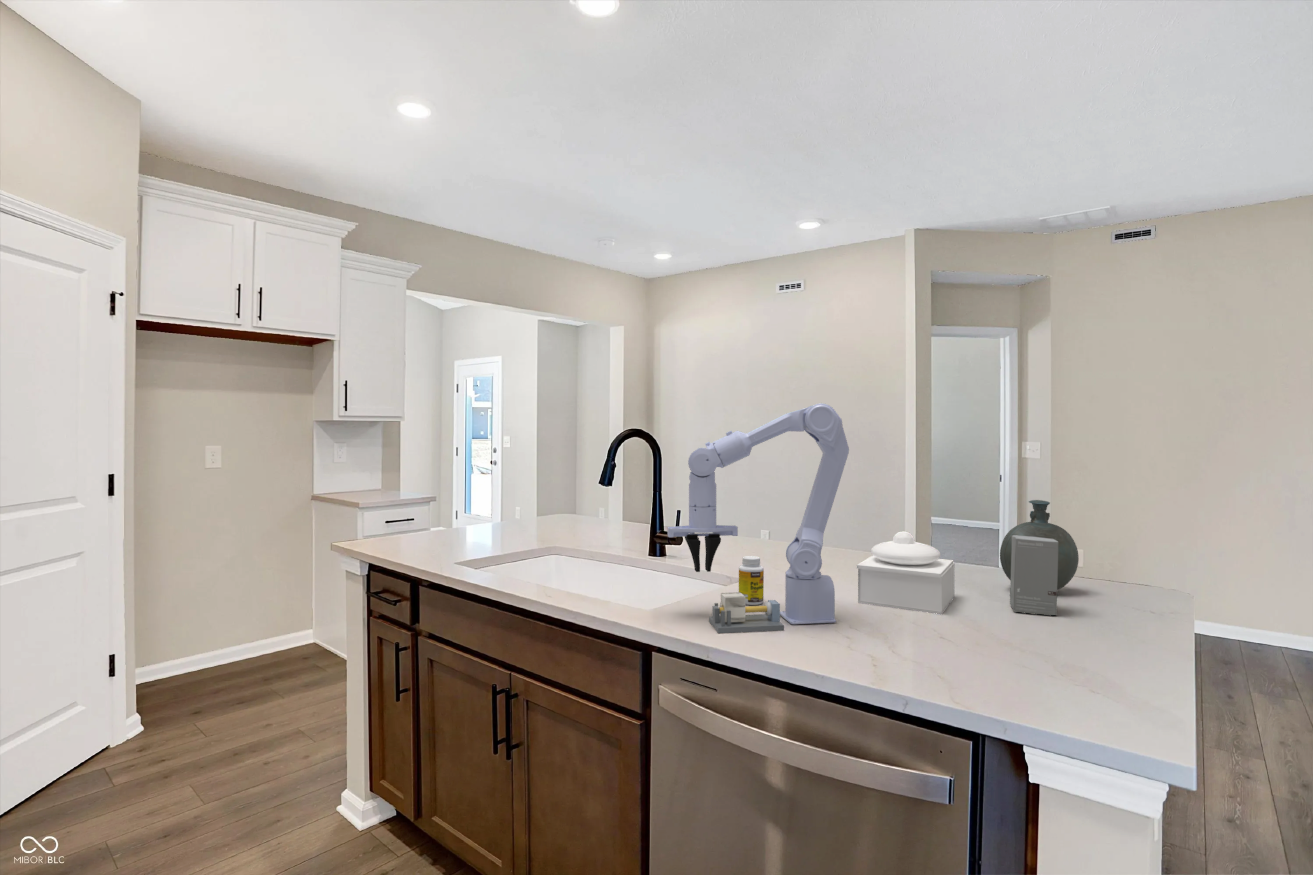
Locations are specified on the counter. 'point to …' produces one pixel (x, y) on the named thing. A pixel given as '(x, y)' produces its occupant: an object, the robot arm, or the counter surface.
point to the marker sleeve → (734, 606)
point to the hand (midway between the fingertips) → (702, 570)
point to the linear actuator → (748, 619)
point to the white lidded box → (906, 576)
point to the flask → (1043, 530)
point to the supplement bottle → (751, 580)
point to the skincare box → (1034, 575)
